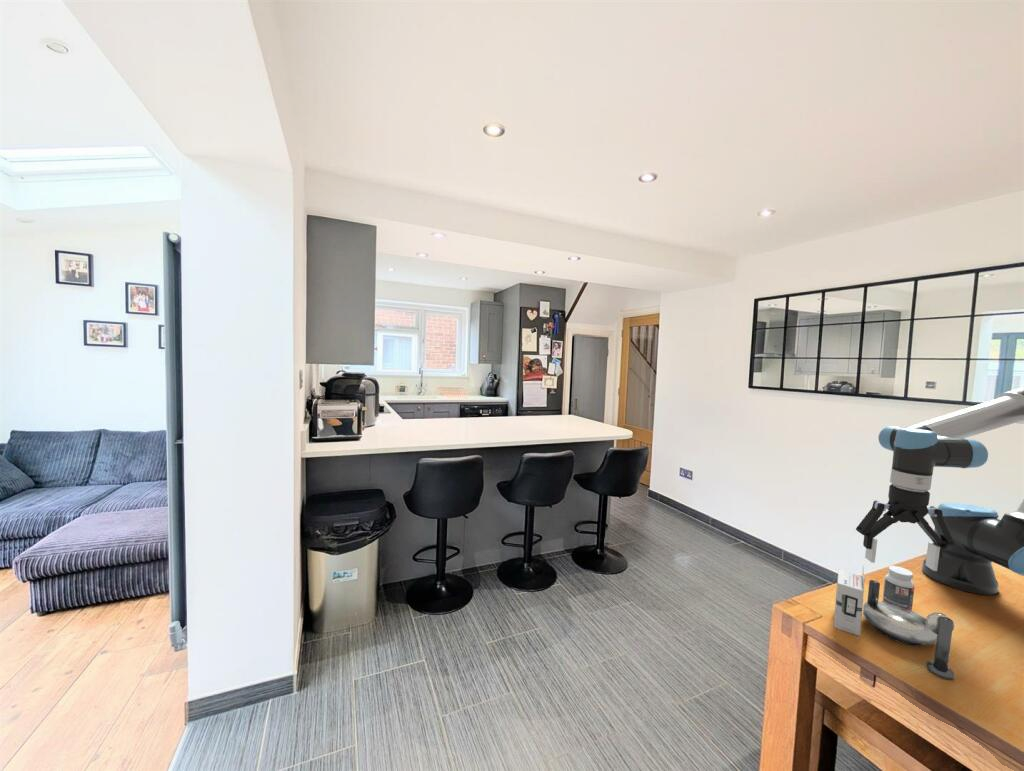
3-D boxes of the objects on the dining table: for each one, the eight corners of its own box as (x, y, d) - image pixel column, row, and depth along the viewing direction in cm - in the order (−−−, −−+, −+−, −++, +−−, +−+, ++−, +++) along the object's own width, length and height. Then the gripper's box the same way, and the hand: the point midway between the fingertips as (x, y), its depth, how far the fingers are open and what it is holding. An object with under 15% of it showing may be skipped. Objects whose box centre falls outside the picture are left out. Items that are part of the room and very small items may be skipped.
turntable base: (897, 619, 100) (897, 612, 100) (935, 645, 91) (936, 638, 91) (862, 619, 100) (863, 612, 100) (897, 645, 91) (898, 638, 91)
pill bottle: (916, 615, 102) (920, 579, 101) (887, 608, 104) (890, 573, 103) (906, 602, 107) (910, 568, 106) (879, 596, 109) (882, 562, 108)
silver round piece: (849, 605, 102) (851, 578, 101) (900, 607, 101) (903, 580, 101) (895, 642, 89) (899, 611, 88) (955, 645, 88) (959, 614, 88)
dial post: (960, 681, 81) (967, 626, 80) (935, 677, 82) (941, 623, 81) (944, 666, 85) (950, 614, 84) (920, 662, 86) (926, 610, 85)
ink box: (834, 610, 103) (838, 557, 102) (859, 618, 100) (864, 564, 98) (833, 627, 96) (838, 571, 95) (860, 637, 93) (866, 579, 92)
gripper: (862, 486, 102) (853, 563, 104) (982, 498, 96) (970, 579, 98) (845, 477, 109) (837, 550, 111) (956, 487, 103) (945, 564, 105)
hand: (899, 564), depth 104 cm, fingers open, 13 cm apart
